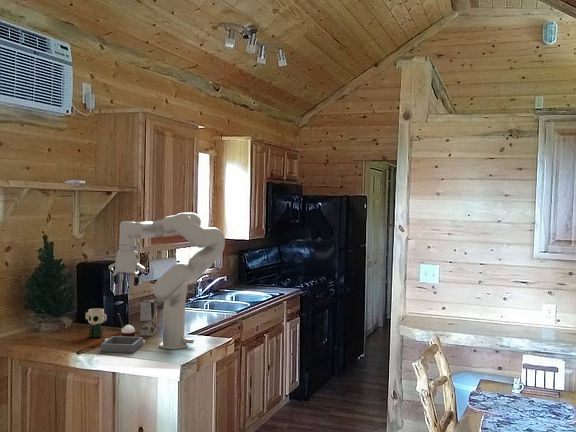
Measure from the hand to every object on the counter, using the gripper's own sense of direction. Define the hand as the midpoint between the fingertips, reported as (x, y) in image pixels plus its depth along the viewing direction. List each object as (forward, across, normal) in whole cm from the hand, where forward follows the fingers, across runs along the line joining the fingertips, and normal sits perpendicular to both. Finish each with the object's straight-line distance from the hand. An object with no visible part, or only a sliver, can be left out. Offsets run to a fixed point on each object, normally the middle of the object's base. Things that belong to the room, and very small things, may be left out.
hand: (126, 284), depth 285 cm
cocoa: (+26, -1, -2) cm, 26 cm away
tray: (+26, -6, +15) cm, 30 cm away
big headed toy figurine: (+26, +15, -2) cm, 30 cm away
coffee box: (+26, -6, -15) cm, 31 cm away
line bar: (+26, -3, +6) cm, 26 cm away
